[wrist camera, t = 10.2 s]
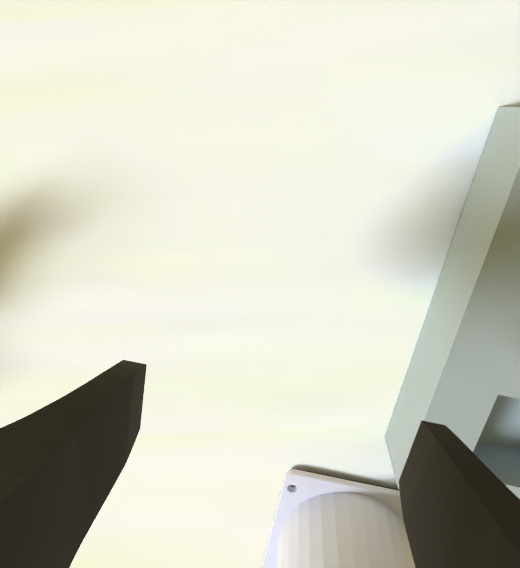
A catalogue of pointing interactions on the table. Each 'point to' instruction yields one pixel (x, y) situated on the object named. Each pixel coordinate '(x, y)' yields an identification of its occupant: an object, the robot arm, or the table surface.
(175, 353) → the table surface
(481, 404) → the hole block
